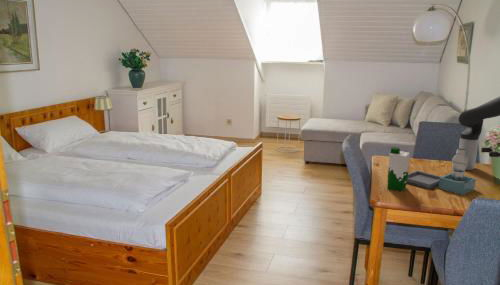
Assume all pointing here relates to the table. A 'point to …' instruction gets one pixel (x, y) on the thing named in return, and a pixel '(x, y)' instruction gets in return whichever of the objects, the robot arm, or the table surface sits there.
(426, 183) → the tray
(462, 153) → the plastic bottle
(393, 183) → the milk carton
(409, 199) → the table surface
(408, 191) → the table surface
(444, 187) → the teal open box
